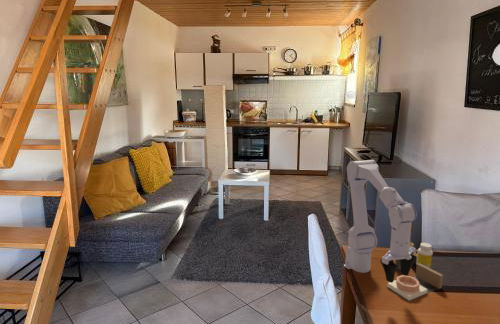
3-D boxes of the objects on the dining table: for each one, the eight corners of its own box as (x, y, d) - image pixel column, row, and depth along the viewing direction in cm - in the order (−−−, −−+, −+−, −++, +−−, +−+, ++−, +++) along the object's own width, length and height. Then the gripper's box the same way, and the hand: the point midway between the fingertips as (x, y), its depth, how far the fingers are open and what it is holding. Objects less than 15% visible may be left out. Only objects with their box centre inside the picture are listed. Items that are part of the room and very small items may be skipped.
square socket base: (387, 286, 121) (388, 277, 120) (404, 280, 125) (405, 271, 124) (409, 300, 113) (410, 291, 112) (426, 293, 117) (427, 284, 116)
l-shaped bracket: (385, 289, 121) (387, 274, 120) (417, 277, 129) (419, 263, 127) (408, 303, 113) (410, 287, 112) (441, 290, 120) (443, 275, 119)
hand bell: (396, 249, 151) (399, 215, 148) (416, 252, 148) (420, 218, 145) (397, 258, 144) (400, 222, 140) (419, 261, 141) (422, 225, 137)
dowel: (392, 270, 134) (393, 254, 132) (399, 268, 136) (400, 252, 134) (400, 275, 130) (402, 258, 129) (408, 272, 132) (409, 256, 131)
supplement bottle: (432, 271, 133) (435, 248, 131) (417, 270, 134) (420, 247, 132) (428, 264, 138) (431, 242, 136) (414, 263, 139) (416, 241, 137)
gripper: (396, 250, 103) (393, 290, 106) (425, 239, 110) (421, 277, 113) (377, 241, 109) (374, 279, 112) (405, 231, 116) (402, 268, 119)
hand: (397, 277), depth 113 cm, fingers open, 7 cm apart
